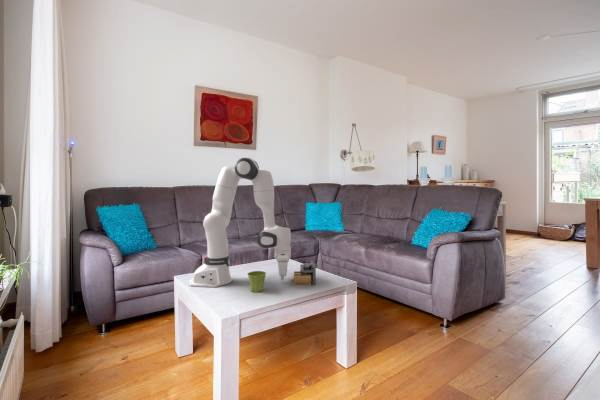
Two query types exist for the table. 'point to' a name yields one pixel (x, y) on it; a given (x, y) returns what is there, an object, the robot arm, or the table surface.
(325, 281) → the table surface
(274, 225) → the robot arm
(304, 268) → the bracket
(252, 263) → the table surface
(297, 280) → the block
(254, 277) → the plant pot
